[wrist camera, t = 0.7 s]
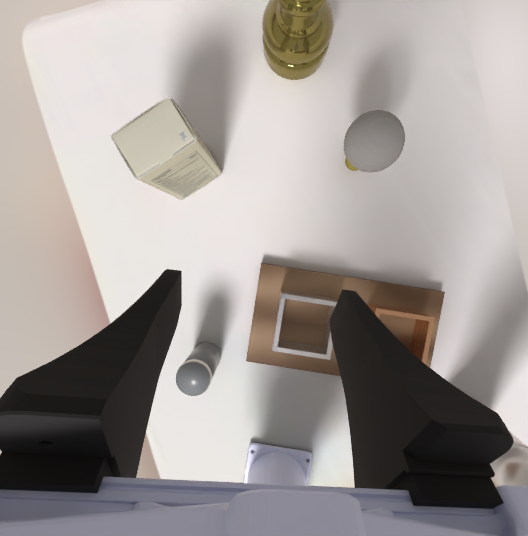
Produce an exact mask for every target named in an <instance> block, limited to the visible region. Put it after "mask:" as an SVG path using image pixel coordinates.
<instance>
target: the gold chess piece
mask: <svg viewBox="0 0 528 536" xmlns="http://www.w3.org/2000/svg"><path fill="white" fill-rule="evenodd" d="M262 27H263V44H264V54H265V58H266V61H267V63H268V65H269V66H270V68H271V69H272V70H273V71H274V72H275V73H276V74H278V75H279V76H281V77H283V78H286V79H291V80H297V79H303V78H306V77H308V76H310V75H311V74H313V73H314V72H315V71H316V70H317V69H318V68H319V67H320V65H321V64H322V62H323V59H324V57H325V53H326V51H327V48H328V45H329V40H330V38H331V35H332V31H333V14H332V11H331V8H330V5H329V3H328V2H327V0H270V1H269V3H268V4H267V6H266V9H265V11H264V15H263V22H262Z"/></svg>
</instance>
